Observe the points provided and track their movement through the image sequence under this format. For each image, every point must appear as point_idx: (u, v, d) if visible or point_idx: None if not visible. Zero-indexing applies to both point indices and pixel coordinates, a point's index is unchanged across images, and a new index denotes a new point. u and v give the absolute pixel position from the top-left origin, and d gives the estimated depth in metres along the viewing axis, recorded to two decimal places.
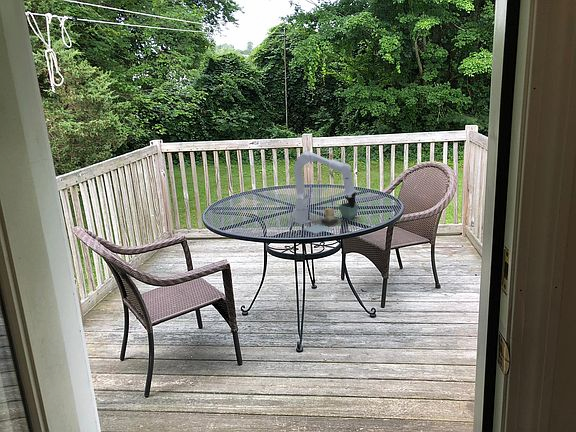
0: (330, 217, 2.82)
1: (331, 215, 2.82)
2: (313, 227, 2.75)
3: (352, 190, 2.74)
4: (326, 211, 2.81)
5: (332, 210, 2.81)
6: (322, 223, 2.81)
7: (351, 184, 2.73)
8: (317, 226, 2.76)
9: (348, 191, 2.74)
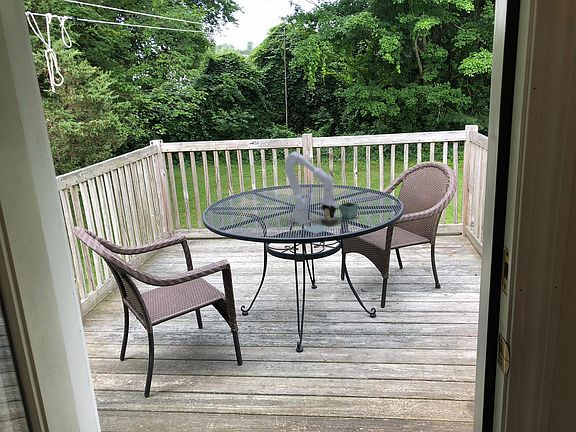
0: None
1: None
2: (313, 227, 2.75)
3: (333, 201, 2.80)
4: (326, 211, 2.81)
5: None
6: (322, 223, 2.81)
7: None
8: (317, 226, 2.76)
9: (331, 202, 2.78)
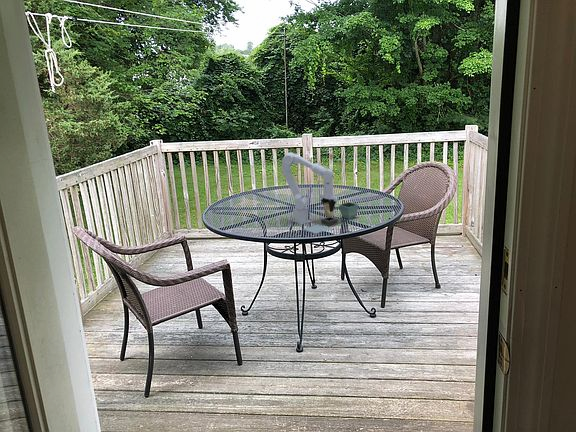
0: None
1: None
2: (313, 227, 2.75)
3: (333, 195, 2.79)
4: (326, 205, 2.80)
5: None
6: (322, 223, 2.81)
7: None
8: (317, 226, 2.76)
9: (330, 196, 2.77)
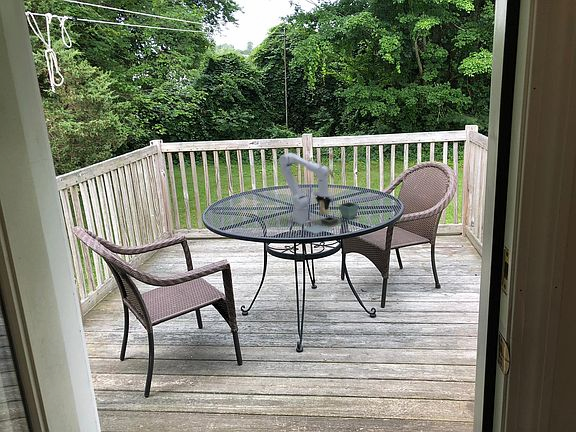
0: None
1: None
2: (313, 227, 2.75)
3: None
4: (321, 203, 2.75)
5: None
6: (322, 223, 2.81)
7: (327, 186, 2.72)
8: (317, 226, 2.76)
9: (325, 193, 2.71)
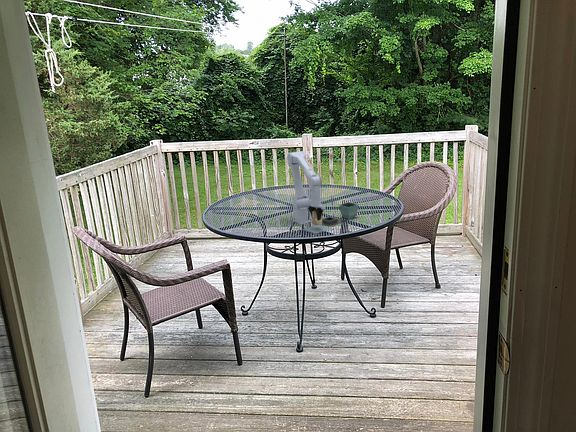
0: (318, 220, 2.69)
1: None
2: (313, 227, 2.75)
3: (320, 202, 2.67)
4: (314, 213, 2.69)
5: None
6: (322, 223, 2.81)
7: None
8: (317, 226, 2.76)
9: (317, 203, 2.65)
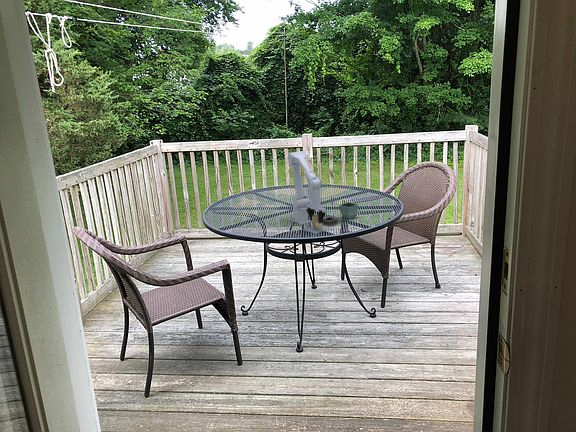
0: (318, 224, 2.69)
1: None
2: None
3: (320, 205, 2.67)
4: (314, 218, 2.69)
5: None
6: (322, 223, 2.81)
7: None
8: None
9: (318, 206, 2.65)
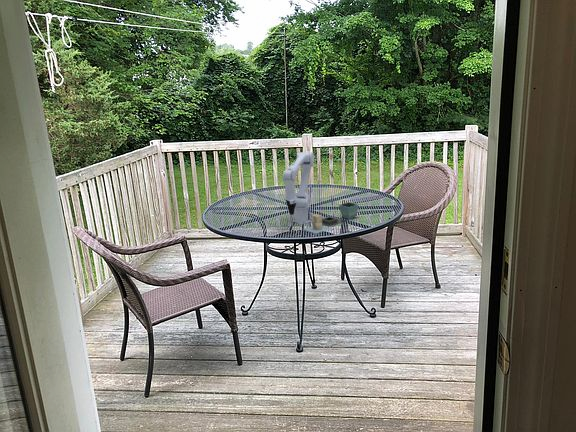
0: (318, 224, 2.69)
1: (319, 222, 2.69)
2: None
3: (293, 197, 2.67)
4: (314, 218, 2.69)
5: (320, 217, 2.69)
6: (322, 223, 2.81)
7: (293, 190, 2.66)
8: None
9: (289, 197, 2.67)
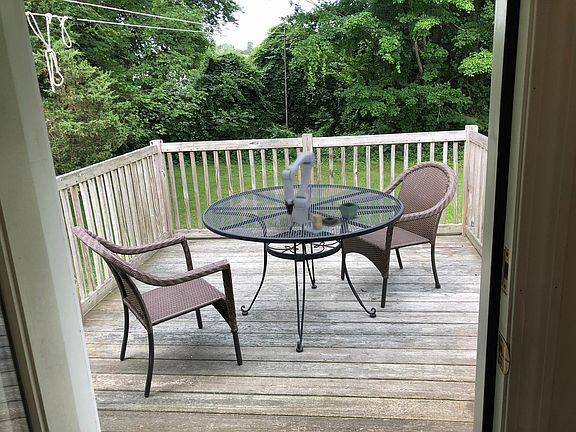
0: (318, 224, 2.69)
1: (319, 222, 2.69)
2: None
3: (292, 197, 2.67)
4: (314, 218, 2.69)
5: (320, 217, 2.69)
6: (322, 223, 2.81)
7: (291, 191, 2.66)
8: None
9: (287, 197, 2.67)
